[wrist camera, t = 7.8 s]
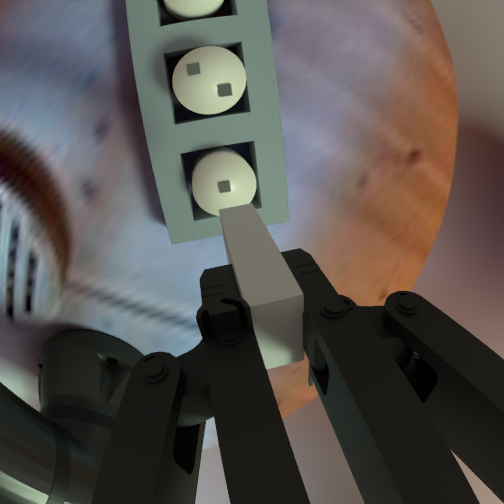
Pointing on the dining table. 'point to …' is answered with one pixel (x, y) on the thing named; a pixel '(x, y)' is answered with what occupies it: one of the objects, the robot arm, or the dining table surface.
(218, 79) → the button
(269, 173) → the button board
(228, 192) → the button
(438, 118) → the dining table surface
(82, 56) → the dining table surface
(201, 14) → the button
